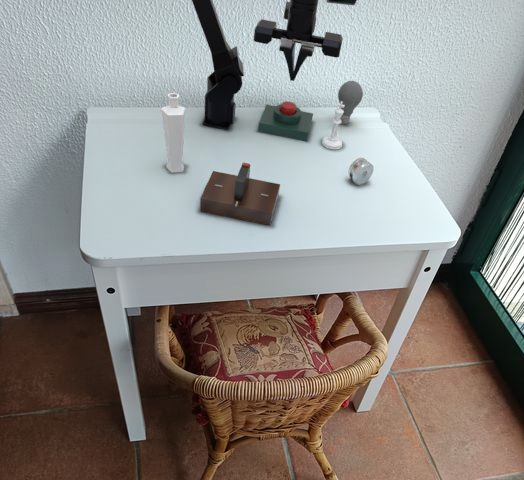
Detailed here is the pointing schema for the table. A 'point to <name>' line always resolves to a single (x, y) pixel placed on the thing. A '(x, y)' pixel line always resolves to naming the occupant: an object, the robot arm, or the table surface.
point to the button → (288, 108)
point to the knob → (242, 181)
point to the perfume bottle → (174, 133)
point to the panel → (250, 208)
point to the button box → (285, 123)
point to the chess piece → (334, 131)
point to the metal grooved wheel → (360, 171)
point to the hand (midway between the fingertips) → (292, 80)
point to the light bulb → (349, 98)
